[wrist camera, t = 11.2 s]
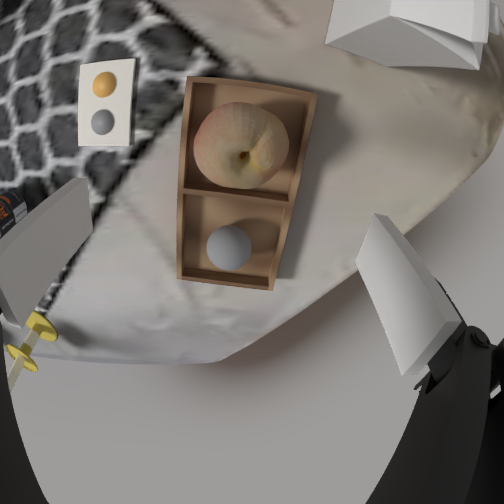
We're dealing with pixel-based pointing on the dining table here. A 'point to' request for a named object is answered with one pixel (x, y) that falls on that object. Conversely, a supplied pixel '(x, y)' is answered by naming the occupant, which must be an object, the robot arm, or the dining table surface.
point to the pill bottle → (11, 210)
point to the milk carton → (414, 31)
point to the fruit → (240, 145)
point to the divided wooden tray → (234, 199)
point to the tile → (105, 103)
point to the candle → (29, 346)
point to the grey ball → (229, 247)
